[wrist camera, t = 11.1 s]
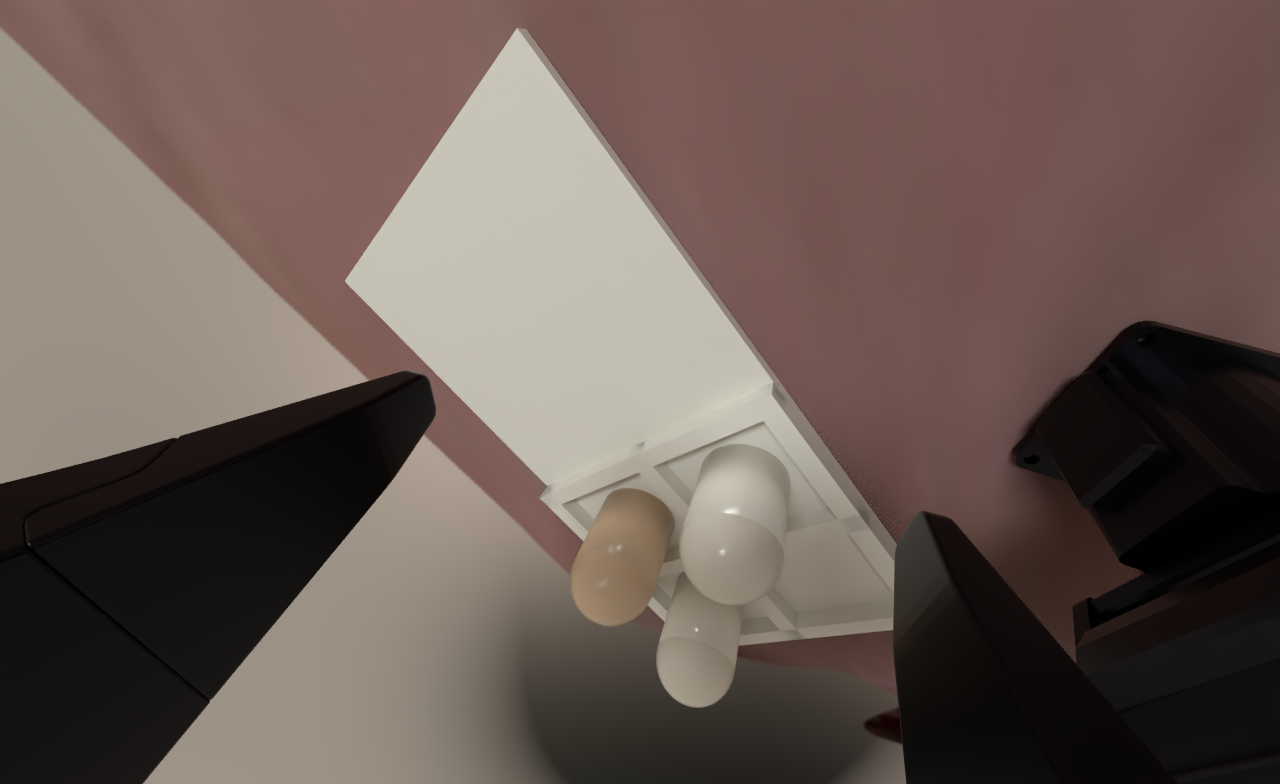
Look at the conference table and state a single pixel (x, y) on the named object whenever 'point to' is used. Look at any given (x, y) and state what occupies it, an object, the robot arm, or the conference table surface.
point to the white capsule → (698, 646)
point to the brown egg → (621, 557)
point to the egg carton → (606, 343)
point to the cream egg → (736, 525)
